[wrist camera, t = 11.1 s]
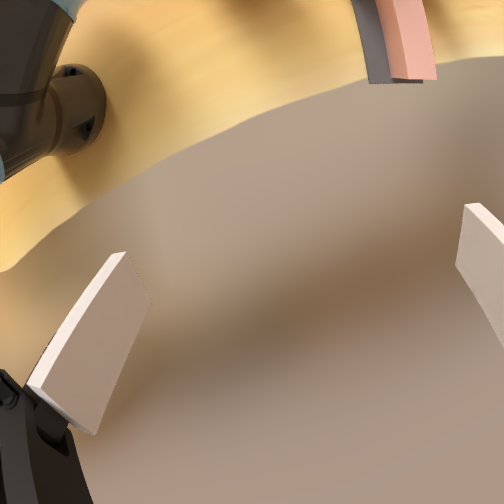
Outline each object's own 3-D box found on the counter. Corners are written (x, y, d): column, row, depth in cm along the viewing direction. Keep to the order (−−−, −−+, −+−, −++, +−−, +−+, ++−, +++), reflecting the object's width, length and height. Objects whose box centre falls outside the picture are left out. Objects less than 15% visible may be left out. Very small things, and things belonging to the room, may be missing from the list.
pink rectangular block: (391, 77, 31) (408, 79, 26) (370, -16, 24) (384, -28, 19) (417, 77, 30) (437, 80, 25) (397, -14, 23) (414, -25, 18)
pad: (369, 83, 32) (370, 84, 32) (344, -22, 24) (345, -23, 24) (421, 83, 31) (423, 83, 30) (399, -20, 23) (400, -21, 22)
